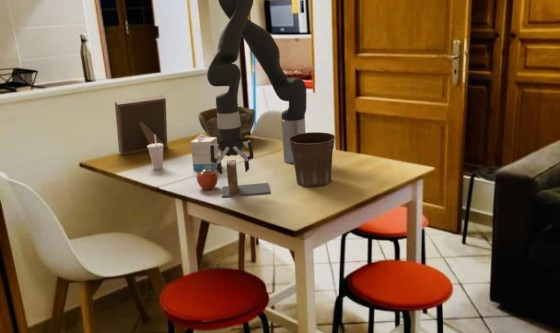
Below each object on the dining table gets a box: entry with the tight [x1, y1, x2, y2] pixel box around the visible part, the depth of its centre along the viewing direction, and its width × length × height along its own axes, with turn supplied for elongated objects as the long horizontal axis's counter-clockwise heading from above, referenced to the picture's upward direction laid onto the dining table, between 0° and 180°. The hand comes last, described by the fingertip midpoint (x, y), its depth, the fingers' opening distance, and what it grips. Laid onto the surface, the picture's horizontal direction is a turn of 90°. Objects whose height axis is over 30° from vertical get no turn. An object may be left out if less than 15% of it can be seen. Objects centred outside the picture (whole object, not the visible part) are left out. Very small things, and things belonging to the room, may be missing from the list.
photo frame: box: [114, 94, 168, 156], centre depth 236 cm, size 15×22×25 cm
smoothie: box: [147, 134, 164, 170], centre depth 210 cm, size 6×6×14 cm
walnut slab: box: [226, 159, 239, 195], centre depth 175 cm, size 3×7×10 cm, turn 5°
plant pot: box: [288, 131, 337, 188], centre depth 181 cm, size 16×16×16 cm
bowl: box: [197, 105, 256, 142], centre depth 249 cm, size 28×27×15 cm
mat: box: [221, 182, 271, 199], centre depth 178 cm, size 16×10×1 cm, turn 95°
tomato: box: [196, 167, 219, 191], centre depth 182 cm, size 7×7×8 cm
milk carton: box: [189, 133, 220, 171], centre depth 207 cm, size 9×8×13 cm
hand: (233, 172), depth 175 cm, fingers open, 8 cm apart
